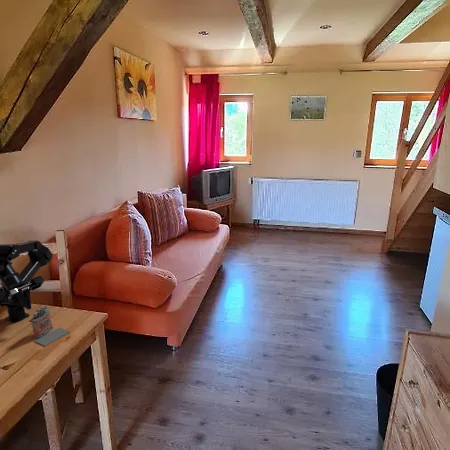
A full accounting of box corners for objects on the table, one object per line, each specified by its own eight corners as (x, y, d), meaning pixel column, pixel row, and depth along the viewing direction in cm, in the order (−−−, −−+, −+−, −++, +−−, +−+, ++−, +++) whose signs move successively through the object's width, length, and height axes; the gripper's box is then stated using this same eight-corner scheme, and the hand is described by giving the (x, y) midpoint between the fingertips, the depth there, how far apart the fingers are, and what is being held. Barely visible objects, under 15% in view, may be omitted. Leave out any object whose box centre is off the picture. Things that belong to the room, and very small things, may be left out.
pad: (34, 341, 121) (34, 341, 121) (59, 327, 130) (59, 327, 130) (45, 346, 119) (45, 345, 119) (70, 332, 127) (69, 331, 127)
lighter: (39, 339, 123) (35, 315, 120) (31, 338, 123) (27, 313, 121) (55, 327, 130) (51, 304, 128) (47, 326, 131) (43, 303, 128)
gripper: (25, 277, 141) (46, 307, 139) (-24, 296, 126) (-2, 330, 124) (34, 263, 135) (55, 294, 133) (-17, 281, 120) (6, 317, 118)
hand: (30, 309), depth 127 cm, fingers closed
